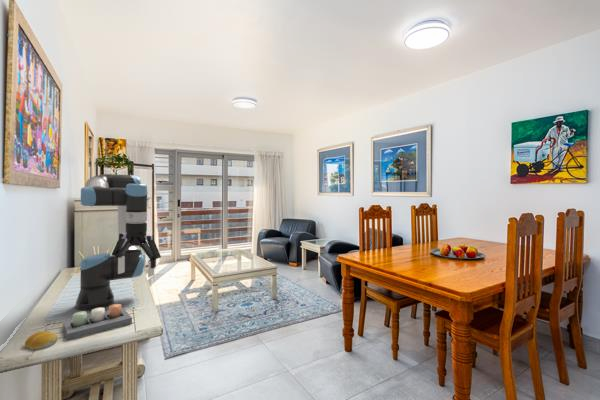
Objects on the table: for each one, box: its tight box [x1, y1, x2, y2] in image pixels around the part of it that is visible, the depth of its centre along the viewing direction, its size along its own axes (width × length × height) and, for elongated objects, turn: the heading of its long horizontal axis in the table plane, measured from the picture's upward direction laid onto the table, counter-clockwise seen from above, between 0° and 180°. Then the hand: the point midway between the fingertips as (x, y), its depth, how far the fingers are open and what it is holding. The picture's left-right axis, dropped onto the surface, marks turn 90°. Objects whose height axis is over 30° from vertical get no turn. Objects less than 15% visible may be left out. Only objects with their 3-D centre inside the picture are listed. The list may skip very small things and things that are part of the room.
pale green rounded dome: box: [72, 310, 88, 326], centre depth 117 cm, size 4×4×4 cm
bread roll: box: [24, 330, 58, 351], centre depth 106 cm, size 8×9×4 cm
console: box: [62, 307, 133, 341], centre depth 121 cm, size 14×21×2 cm, turn 134°
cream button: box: [90, 307, 106, 322], centre depth 121 cm, size 4×4×4 cm
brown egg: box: [108, 303, 122, 318], centre depth 125 cm, size 4×4×4 cm
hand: (136, 274), depth 121 cm, fingers open, 13 cm apart
